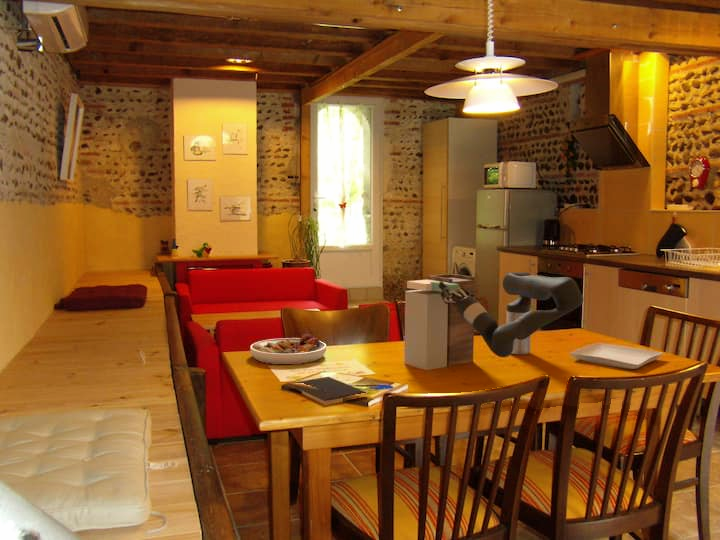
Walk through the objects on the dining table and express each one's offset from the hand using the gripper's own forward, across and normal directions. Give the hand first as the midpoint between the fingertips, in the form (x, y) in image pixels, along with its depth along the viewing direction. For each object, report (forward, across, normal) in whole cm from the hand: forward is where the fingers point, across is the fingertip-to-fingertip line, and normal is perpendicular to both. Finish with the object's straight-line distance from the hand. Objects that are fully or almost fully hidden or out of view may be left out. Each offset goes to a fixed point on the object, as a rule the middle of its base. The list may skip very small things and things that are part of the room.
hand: (444, 283), depth 248 cm
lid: (+3, 0, +5) cm, 6 cm away
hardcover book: (-17, +51, +28) cm, 61 cm away
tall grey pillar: (-7, 0, +33) cm, 34 cm away
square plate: (-39, -68, +16) cm, 80 cm away
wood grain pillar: (-7, -12, +33) cm, 36 cm away
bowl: (+27, +37, +53) cm, 71 cm away
